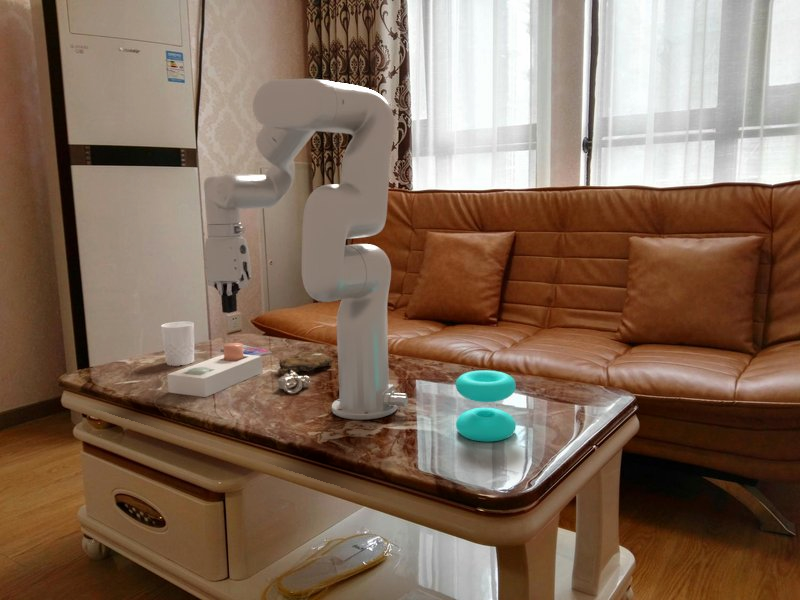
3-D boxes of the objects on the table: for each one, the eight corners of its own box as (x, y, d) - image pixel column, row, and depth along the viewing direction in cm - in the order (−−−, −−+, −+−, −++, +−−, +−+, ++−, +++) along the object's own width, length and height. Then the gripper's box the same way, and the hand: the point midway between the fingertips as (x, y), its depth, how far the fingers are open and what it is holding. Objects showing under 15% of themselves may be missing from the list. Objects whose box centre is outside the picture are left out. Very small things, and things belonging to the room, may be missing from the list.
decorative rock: (308, 382, 141) (339, 367, 155) (308, 364, 141) (340, 351, 154) (266, 375, 146) (300, 361, 159) (266, 358, 145) (300, 346, 159)
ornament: (314, 393, 132) (313, 376, 131) (281, 397, 130) (280, 380, 129) (307, 383, 139) (306, 367, 139) (276, 386, 137) (275, 370, 137)
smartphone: (242, 343, 177) (273, 351, 167) (242, 347, 177) (273, 355, 167) (219, 348, 172) (249, 356, 162) (219, 351, 172) (249, 360, 162)
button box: (262, 372, 148) (261, 355, 148) (205, 397, 130) (204, 378, 129) (228, 368, 152) (227, 352, 151) (168, 392, 134) (167, 374, 133)
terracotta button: (247, 360, 147) (246, 343, 146) (235, 364, 143) (234, 347, 143) (232, 358, 149) (231, 342, 148) (220, 363, 145) (219, 346, 144)
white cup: (190, 366, 155) (187, 327, 154) (159, 367, 156) (155, 327, 154) (200, 358, 163) (198, 321, 162) (171, 359, 163) (167, 321, 162)
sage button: (214, 385, 137) (213, 368, 136) (200, 391, 133) (199, 373, 132) (198, 384, 138) (197, 366, 138) (184, 389, 134) (183, 371, 134)
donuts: (448, 370, 109) (502, 366, 111) (449, 425, 110) (502, 420, 112) (466, 387, 99) (525, 381, 101) (466, 447, 101) (525, 440, 103)
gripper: (261, 231, 142) (266, 310, 145) (209, 231, 147) (214, 307, 150) (241, 233, 135) (246, 316, 138) (186, 232, 141) (192, 313, 144)
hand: (229, 311), depth 144 cm, fingers closed
